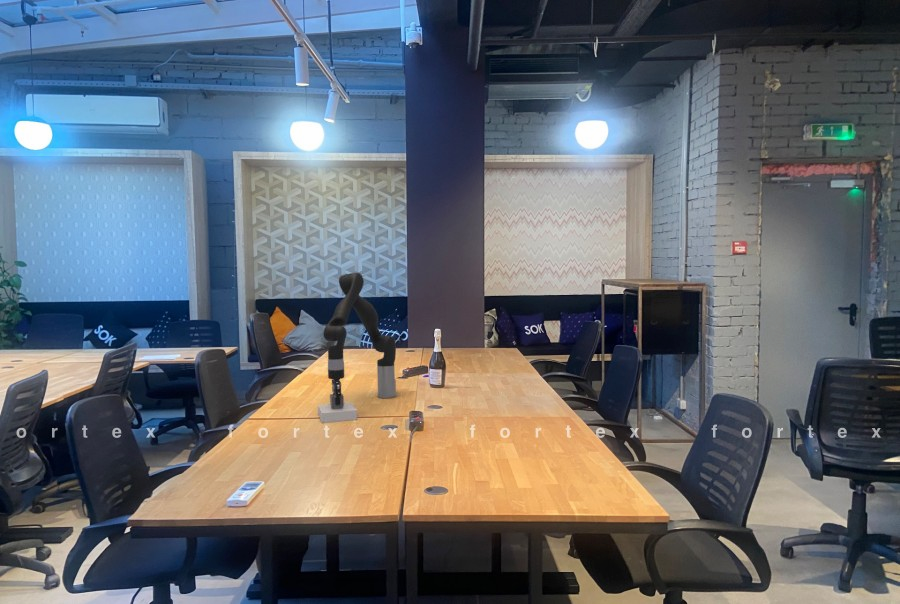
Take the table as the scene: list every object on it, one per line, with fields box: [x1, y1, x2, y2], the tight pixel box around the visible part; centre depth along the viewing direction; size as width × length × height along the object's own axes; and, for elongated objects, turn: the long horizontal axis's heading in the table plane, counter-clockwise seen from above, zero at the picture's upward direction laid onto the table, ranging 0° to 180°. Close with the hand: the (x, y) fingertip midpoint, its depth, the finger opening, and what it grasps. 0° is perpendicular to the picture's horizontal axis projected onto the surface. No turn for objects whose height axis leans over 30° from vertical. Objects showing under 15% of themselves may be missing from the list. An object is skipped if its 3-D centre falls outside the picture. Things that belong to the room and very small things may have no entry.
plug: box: [329, 392, 345, 409], centre depth 278 cm, size 6×6×10 cm
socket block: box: [317, 401, 358, 424], centre depth 278 cm, size 16×16×4 cm
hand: (336, 403), depth 278 cm, fingers closed on plug, 5 cm apart
